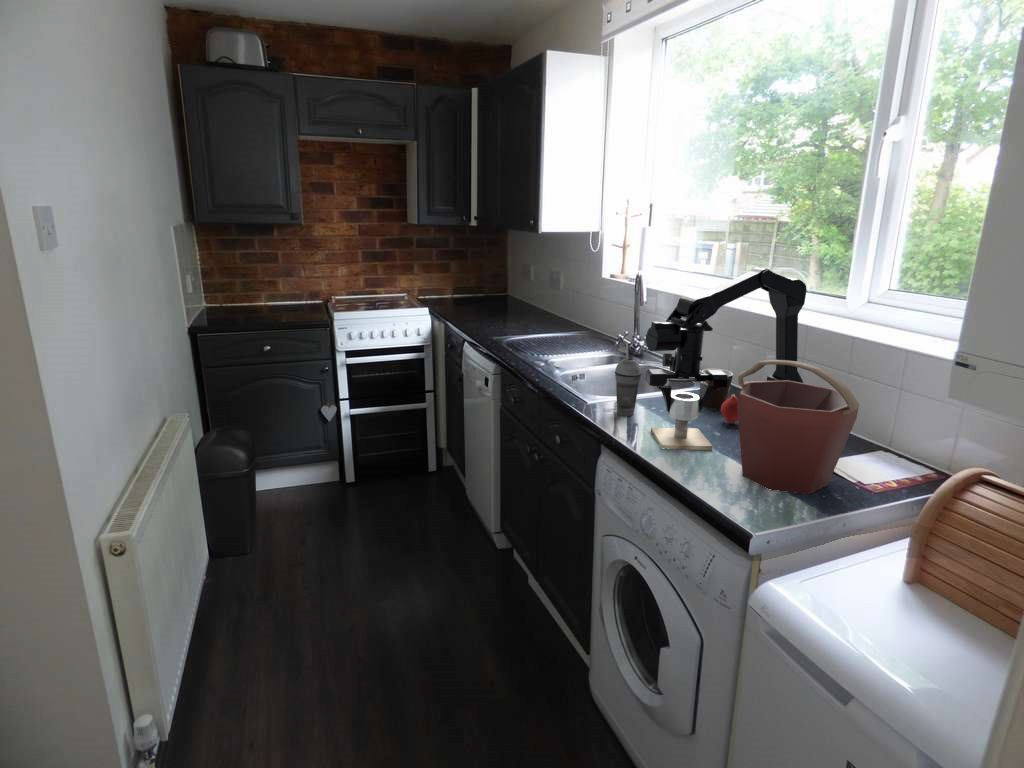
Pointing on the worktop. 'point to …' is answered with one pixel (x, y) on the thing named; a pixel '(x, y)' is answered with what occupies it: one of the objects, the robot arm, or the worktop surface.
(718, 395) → the coffee mug
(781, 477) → the bucket
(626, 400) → the beverage cup
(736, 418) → the onion
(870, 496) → the worktop surface
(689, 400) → the steel ring
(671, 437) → the post board
